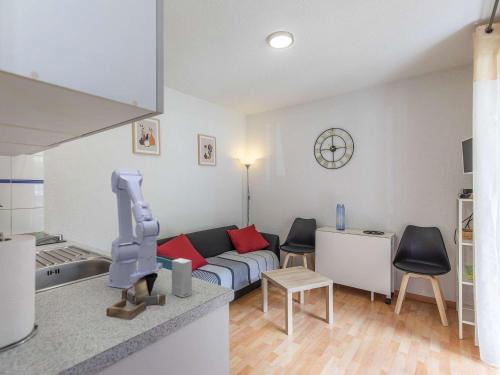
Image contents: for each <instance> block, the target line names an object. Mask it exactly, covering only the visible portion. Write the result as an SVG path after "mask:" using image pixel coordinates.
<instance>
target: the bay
mask: <svg viewBox="0 0 500 375" xmlns="http://www.w3.org/2000/svg"><path fill="white" fill-rule="evenodd" d="M126 306H127V299H123V300H122V299H121V300H119V301H118V302H116V303H113V304H112V305H111V306H108V307H107V308H106V316H107V317H113V318H119V319H125V320H130V321H131V320H132V319H134V318H135V317H137V316H138V315H139V314H141V313H142V312H144V311H145V310H147V305H146V302H143V303H141V304H137V306H135V307H133V308H125V307H126Z"/></svg>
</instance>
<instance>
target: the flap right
mask: <svg viewBox="0 0 500 375" xmlns="http://www.w3.org/2000/svg"><path fill="white" fill-rule="evenodd" d="M159 295H160V294H157V295H151V296H145V297H143V302H146V306H148V305H159Z"/></svg>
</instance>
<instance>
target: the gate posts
mask: <svg viewBox="0 0 500 375" xmlns="http://www.w3.org/2000/svg"><path fill="white" fill-rule="evenodd" d="M127 291H129V288H128V289H125V288H123V289H122V290H121V300H123V299H126V300H128V299H127ZM158 295H159V304H158V305H159V306H165V305H166V293H165V294H164V293H161V294H158Z"/></svg>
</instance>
